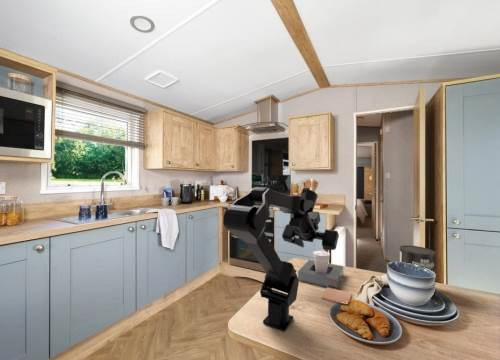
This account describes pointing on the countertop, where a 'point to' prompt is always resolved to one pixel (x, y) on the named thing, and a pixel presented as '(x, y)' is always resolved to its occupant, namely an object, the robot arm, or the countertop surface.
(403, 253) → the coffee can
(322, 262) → the smoothie
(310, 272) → the socket block
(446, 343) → the countertop surface
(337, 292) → the tile
